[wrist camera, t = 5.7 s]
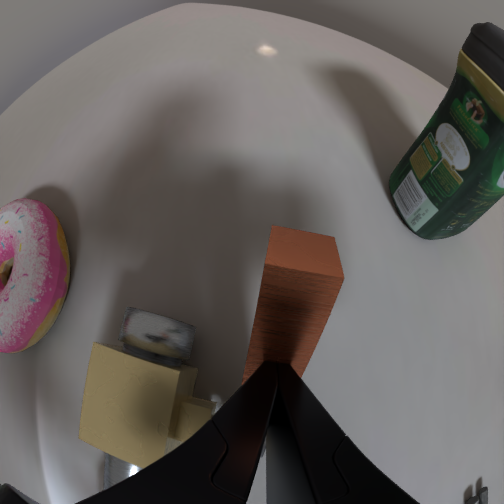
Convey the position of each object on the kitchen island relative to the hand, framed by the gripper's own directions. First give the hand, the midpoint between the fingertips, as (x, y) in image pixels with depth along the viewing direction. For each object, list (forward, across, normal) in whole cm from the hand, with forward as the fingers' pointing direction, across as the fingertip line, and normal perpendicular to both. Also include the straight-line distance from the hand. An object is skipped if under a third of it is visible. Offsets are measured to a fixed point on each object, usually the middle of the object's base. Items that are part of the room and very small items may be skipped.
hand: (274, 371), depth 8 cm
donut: (+8, -22, -6) cm, 24 cm away
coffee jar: (+18, +13, +5) cm, 23 cm away
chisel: (+3, 0, -9) cm, 10 cm away
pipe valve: (+1, -5, -12) cm, 13 cm away
